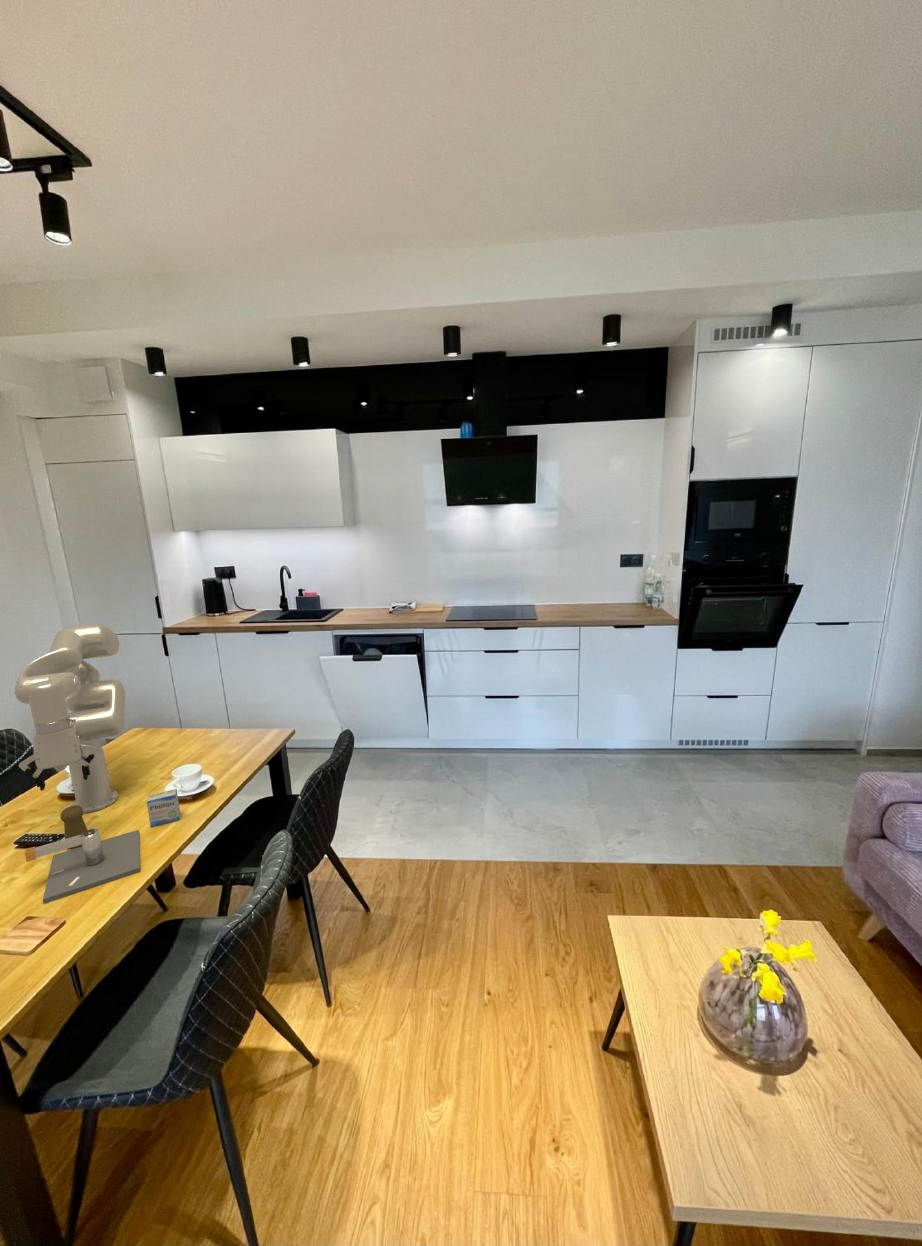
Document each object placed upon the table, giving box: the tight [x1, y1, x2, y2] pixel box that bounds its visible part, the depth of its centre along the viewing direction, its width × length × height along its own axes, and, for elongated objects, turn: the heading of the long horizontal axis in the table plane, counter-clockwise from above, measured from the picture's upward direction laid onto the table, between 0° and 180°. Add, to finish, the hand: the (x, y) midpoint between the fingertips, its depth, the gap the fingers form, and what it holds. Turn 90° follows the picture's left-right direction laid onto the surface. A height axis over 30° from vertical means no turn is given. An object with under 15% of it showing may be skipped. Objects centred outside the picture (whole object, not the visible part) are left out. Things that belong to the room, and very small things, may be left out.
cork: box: [59, 805, 88, 851], centre depth 146 cm, size 6×6×11 cm
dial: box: [24, 828, 104, 865], centre depth 133 cm, size 15×4×8 cm, turn 122°
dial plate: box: [42, 829, 141, 905], centre depth 137 cm, size 20×20×2 cm
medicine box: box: [146, 788, 181, 828], centre depth 156 cm, size 8×4×9 cm, turn 117°
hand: (65, 783), depth 143 cm, fingers open, 9 cm apart
